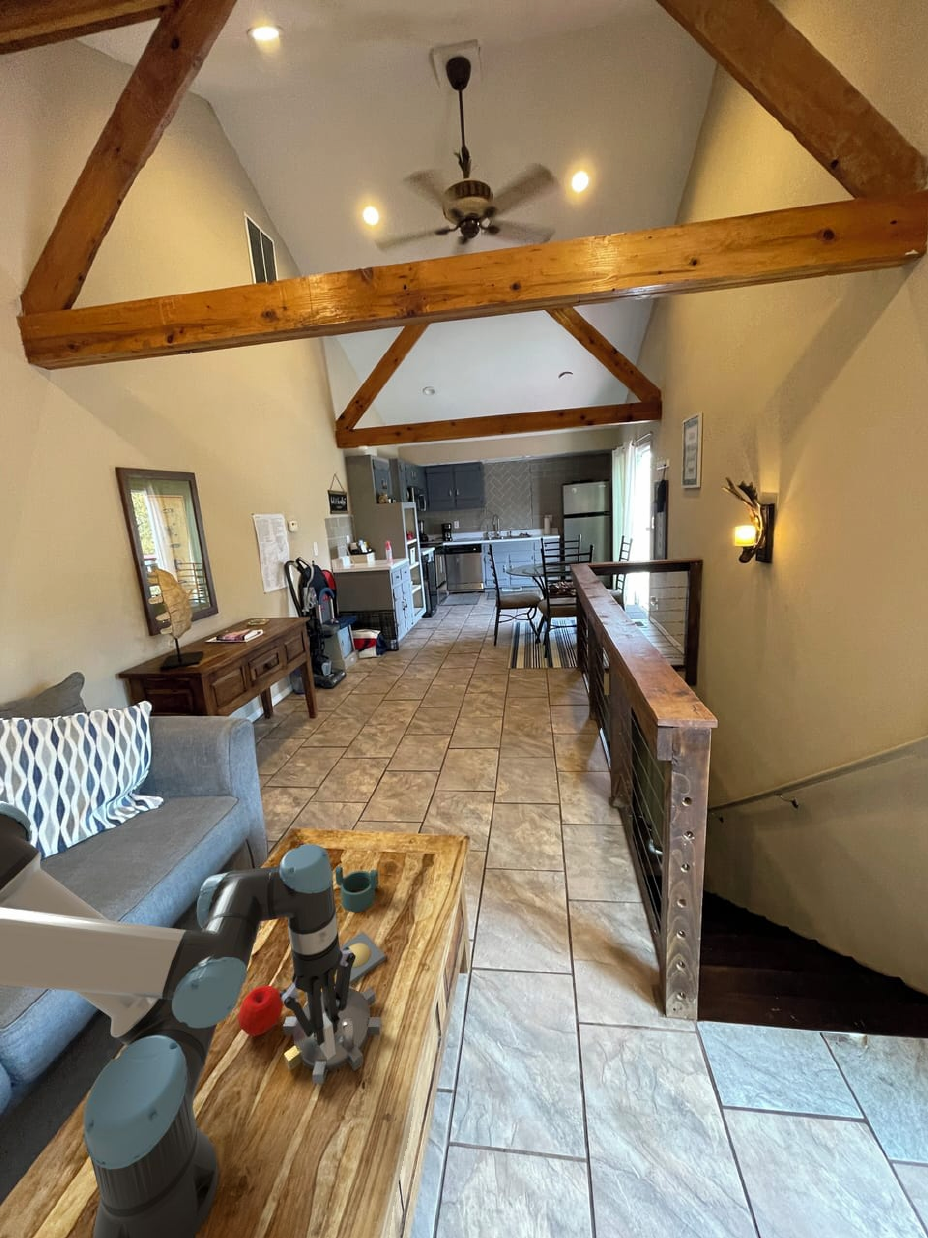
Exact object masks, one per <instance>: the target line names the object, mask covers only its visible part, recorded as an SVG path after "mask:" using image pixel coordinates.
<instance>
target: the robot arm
mask: <svg viewBox="0 0 928 1238" xmlns="http://www.w3.org/2000/svg"><path fill="white" fill-rule="evenodd" d="M31 825H32V822H31V820H30V818H29V816H27V814H26V813H25V812H24V811H22V810H21V809H20V808H19V807H17V806H16V805H14V804H12V803H9V802H6V801H3V800H0V985H3V986H12V987H23V988H24V987H26V988H33V989H34V988H35V989H45V990H47V989H48V990H59V991H68V992H69V991H71V992H74V993H76V994H77V995H78V996H80V997H81V998H82V999H84V1000H86V1001H87V1002H89V1003H90V1004H91V1005H93V1006H94V1007H96V1008H97V1009H99V1010H100V1011H101V1012H103V1013H104V1014H106V1015H107V1016H108V1017H110V1018H111V1025H110V1034H111V1036H112V1037H113V1038H115V1040H118V1041H119V1042H121V1043H122V1044H123V1045H125V1047H124V1048H123V1049H122V1050H121V1051H120V1052H119V1056H118V1057H117V1058H112V1059H110V1061H109V1062H108V1063H107V1064H106V1065H105V1066H104V1067H103V1069H102V1070H101V1071H100V1073H99V1074H98V1076H97V1078H96V1079H95V1081H94V1082H93V1084H92V1085H91V1088H90V1090H89V1093H88V1095H87V1098H86V1102H85V1106H84V1112H83V1131H84V1133H83V1135H84V1144H85V1148H86V1152H87V1155H88V1156H89V1158H90V1161H91V1162H90V1163H91V1165H92V1169H93V1172H94V1173H93V1174H94V1177H95V1181H96V1185H97V1188H98V1191H99V1195H100V1198H99V1202H98V1208H97V1212H96V1216H95V1217H96V1218H95V1221H94V1222H95V1223H94V1227H93V1238H195V1237H196V1236H197V1234H198V1232H199V1231H200V1229H201V1228H202V1226H203V1225H204V1222H205V1221H206V1219H207V1217H208V1215H209V1212H210V1210H211V1208H212V1205H213V1203H214V1200H215V1197H216V1193H217V1188H218V1183H219V1165H218V1159H217V1158H218V1157H217V1155H216V1150H215V1148H214V1145H213V1143H212V1141H211V1140H210V1139H209V1137H207V1135H206V1134H204V1132H203V1131H201V1130H200V1128H198V1127H197V1123H196V1118H195V1113H194V1101H195V1097H196V1092H197V1090H198V1086H199V1083H200V1079H201V1077H202V1073H203V1070H204V1067H205V1064H206V1061H207V1058H208V1056H209V1052H210V1048H211V1045H212V1042H213V1039H214V1036H215V1032H216V1029H217V1026H218V1024H219V1023H221V1022H223V1021H224V1020H225V1019H227V1017H229V1015H230V1014H231V1013H232V1011H233V1010H234V1008H236V1007H235V1006H236V1004H237V1003H238V1000H239V996H240V993H241V991H242V988H243V984H244V983H245V982H246V980H247V975H248V972H247V971H248V967H249V964H250V961H251V957H252V954H253V953H252V952H253V949H254V946H255V943H256V940H257V937H258V933H259V930H260V926H261V924H262V922H268V921H272V920H273V921H274V920H278V919H284V918H286V921H287V929H288V937H289V944H290V952H291V959H292V960H291V961H292V967H293V975H292V978H291V982H292V983H291V985H290V986H289V988H288V989H283V990H281V991H280V995H279V996H280V998H281V1000H282V1001H283V1005H284V1006H285V1007H286V1008H287V1009H289V1010H291V1011H292V1014H293V1015H294V1017H296V1019H297V1020H298V1022H299V1024H300V1026H301V1028H302V1029H303V1031H304V1032H305V1034H306V1036H307V1037H310V1036H311V1035H312V1034H313V1035H314V1039H315V1041H316V1043H317V1044H318V1045H319V1046H320V1048H321V1050H322V1052H323V1053H324V1055H325V1056H326V1058H327V1059H328V1060H329V1059H330V1058H331V1057H332V1056H334V1055H335V1054H336V1051H335V1042H334V1034H335V1033H336V1032H337V1030H338V1026H337V1023H338V1022H339V1020H340V1018H339V1016H338V1013H339V1012H340V1010H341V1011H343V1010H344V1009H345V1008H346V1006H347V998H348V990H349V988H350V986H349V983H350V975H351V968H352V966H353V963H354V961H355V958H356V956H355V955H354V953H353V952H352V951H351V950H350V949H349V948H348V947H345V948H344V949H343V951H341V950H340V947H341V946H340V938H339V931H338V929H339V928H338V919H337V910H336V900H335V899H336V898H335V889H334V876H333V875H334V873H333V870H332V868H331V861H330V855H329V853H328V851H327V850H326V849H325V848H324V847H323V846H321V845H318V844H314V843H306V844H301V845H300V846H299V847H298V848H296V847H295V848H292V849H290V850H289V851H287V852H286V853H285V854H284V856H283V857H282V859H281V861H280V863H279V864H278V865H273V866H272V865H271V866H266V867H257V868H251V869H249V868H248V869H241V870H231V871H228V872H224V873H219V874H214V875H210V876H209V877H207V878H206V879H205V880H204V882H203V884H202V885H201V888H200V890H199V897H198V898H197V903H196V904H197V906H196V915H197V916H196V917H197V918H196V919H197V921H198V925H199V927H201V930H200V931H199V930H189V929H179V928H174V927H173V928H171V927H163V926H156V925H155V926H153V925H147V924H140V923H132V922H123V921H115V920H110V919H108V918H106V917H105V916H104V915H102V914H101V913H100V912H99V911H97V910H96V909H94V908H93V907H92V906H90V905H89V904H88V903H87V902H86V901H84V900H83V899H82V898H80V897H79V896H77V895H76V894H75V893H73V891H71V890H69V889H68V888H67V887H65V886H64V885H63V884H62V883H60V882H59V881H58V880H57V879H55V878H53V876H51V875H50V874H49V873H48V872H46V871H44V870H43V869H42V868H41V857H42V852H41V851H40V850H39V849H37V848H36V847H35V846H34V845H32V844H31V843H30V842H31V838H32V834H33V829H32V828H31ZM335 975H336V976H335ZM299 990H300V991H302V992H304V993H305V994H306V993H307V996H308V1002H307V1003H308V1004H309V1012H310V1018H309V1020H308V1019H307V1017H306V1015H305V1013H304V1011H303V1009H302V1008H303V1006H301V1005H302V1004H300V1002H299V996H300V995H299V993H298V992H299ZM321 992H322V994H323V1002H324V1010H325V1012H326V1014H325V1013H324V1014H322V1006H321V996H322V995H321Z"/></svg>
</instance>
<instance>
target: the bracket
mask: <svg viewBox="0 0 928 1238" xmlns="http://www.w3.org/2000/svg"><path fill="white" fill-rule="evenodd" d="M343 868H344V867H343V866H336V867H335V869H334V873H335V882H336V885H338V886H339V887H340V895H341V896H340V897H341V905H342V908H343V909H344V910H346V912H350V913H360V912H363V911H366V910H367V909H369V908H370V907H372V906H373V904H374V902H375V899H376V889H377V887H378V885H379V872H378V869H371V870H370V871H366V870H356V871H352V872H350V873H349V874H347V875H345V876H344V869H343ZM359 889H364V890H361V891H359V892H358V891H357V892H354V891H355V890H359Z"/></svg>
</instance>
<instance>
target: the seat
mask: <svg viewBox="0 0 928 1238" xmlns="http://www.w3.org/2000/svg"><path fill="white" fill-rule="evenodd" d="M345 947H348V948H349V949H350V950H351V951H352V952H353V953H354V955H355V956H356V958H355V961H354V963H353V966H352V968H351V975H350V983H349V985H350V986H353V984H355V983H356V982H357V981H358V980H360V979H362V977H364V976H365V975H367V974H368V973H369V972H370V971H372V970H374V968H376V967H377V966H379V965H380V964H381V963H382V962H384V961H385V960H386V958H387V955H386V954H385V953H384V952H383V951H382V949H380V947H378V946H377V944H375V942H374V941H373V940H372V939H371V938H370V937H369V936H368V935H367V934H366V933H365V931H362V932H360V933H358V934H357V935H355V936H354V937H353V938H351V939H350V940H348V941H347V942H346V943H344V944H342V945H341V946H340V950H341V951H343V949H344V948H345Z"/></svg>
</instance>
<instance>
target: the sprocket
mask: <svg viewBox="0 0 928 1238" xmlns="http://www.w3.org/2000/svg"><path fill="white" fill-rule="evenodd" d="M321 995H322V996H321V1006H322V1014H324V1013H325V1014H326V1012H325V1010H324V1002H323V994H322V991H321ZM305 999H306V1000H305V1001H306V1003H305V1005H304V1006H302V1009H303V1011H304V1013H305V1015H306V1017H307V1019H308V1020H309V1018H310V1012H309V1004H308V996H307V993H306V992H305ZM376 1002H377V998H376V992H375V991H374V990H373V989H372V987H369V988H367V989H366V990H364V991H363V992H362V993H361V992H359V991H358V990H357V989H354V988H352V987H351V985H349V990H348V998H347V1006H346V1008H345V1009H344V1010H343V1011H341V1010H340V1012H339V1013H338V1016H339V1018H340V1020H339V1022H338V1023H337V1026H338V1030H337V1032H336V1033H335V1034H334V1042H335V1051H336V1054H335V1055H334V1056H332V1057H331V1058H330V1059H329V1060H328V1059H327V1058H326V1056H325V1055H324V1053H323V1052H322V1050H321V1048H320V1046H319V1045H318V1044H317V1043H316V1041H315V1039H314V1035H313V1034H312V1035H311V1036H310V1037H307V1036H306V1034H305V1032H304V1031H303V1029H302V1028H301V1026H300V1024H299V1022H298V1020H297V1019H296V1017H295V1016H286V1017H285V1021H284V1022H283V1025H282V1028H283V1035H285V1036H288V1035H289V1036H292V1038H293V1039H292V1040H293V1045H294V1046H292V1047H291V1048H290V1049H288V1050H287V1051H285V1053H284V1054H283V1055H284V1063H285V1065H286V1066H287V1069H288V1070H289V1071H291V1070H293V1068H295V1067H296V1066H297V1065H298V1064H300V1063H301V1064H303V1066H305V1067H307V1068H309V1069H311V1070H313V1071H312V1083H313V1084H317V1085H318V1084H321V1085H322V1084H324V1083H325V1081H326V1077H327V1072H328V1071H331V1070H334V1069H338V1068H340V1067H343V1066H344V1065H346V1064H347V1063H348V1064H349V1065H350V1067H351V1068H352V1069H353V1071H354V1072H356V1071H357V1069H359V1068H360V1067H361V1066H362V1065H363V1064H364V1057H363V1056H364V1055H363V1052H361V1051H362V1049H363V1048H364V1046H365V1045H366V1043H367V1041H368V1038H369V1036H380V1035H381V1030H382V1017H381V1016H379V1017H378V1016H371V1009H370V1007H371V1006H372V1005H373V1004H375V1003H376Z"/></svg>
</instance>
